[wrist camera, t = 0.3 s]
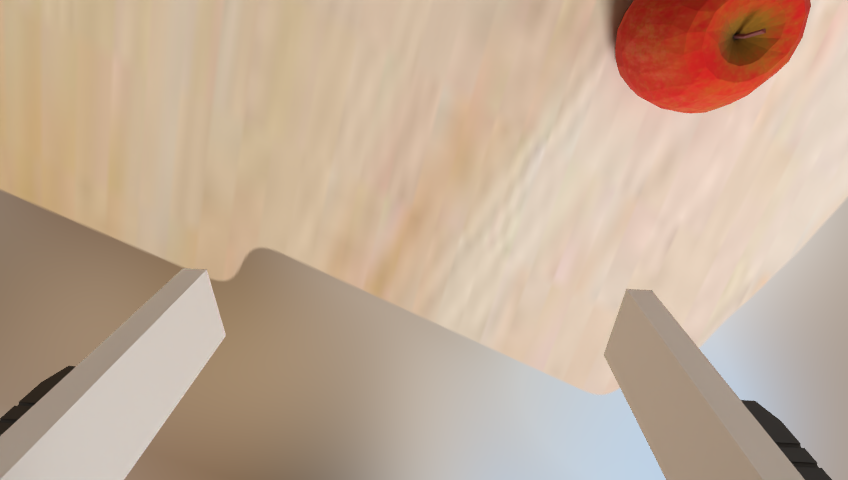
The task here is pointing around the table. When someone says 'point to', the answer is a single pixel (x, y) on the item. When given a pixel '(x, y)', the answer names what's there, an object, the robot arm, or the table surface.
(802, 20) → the apple
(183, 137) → the table surface
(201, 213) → the table surface
